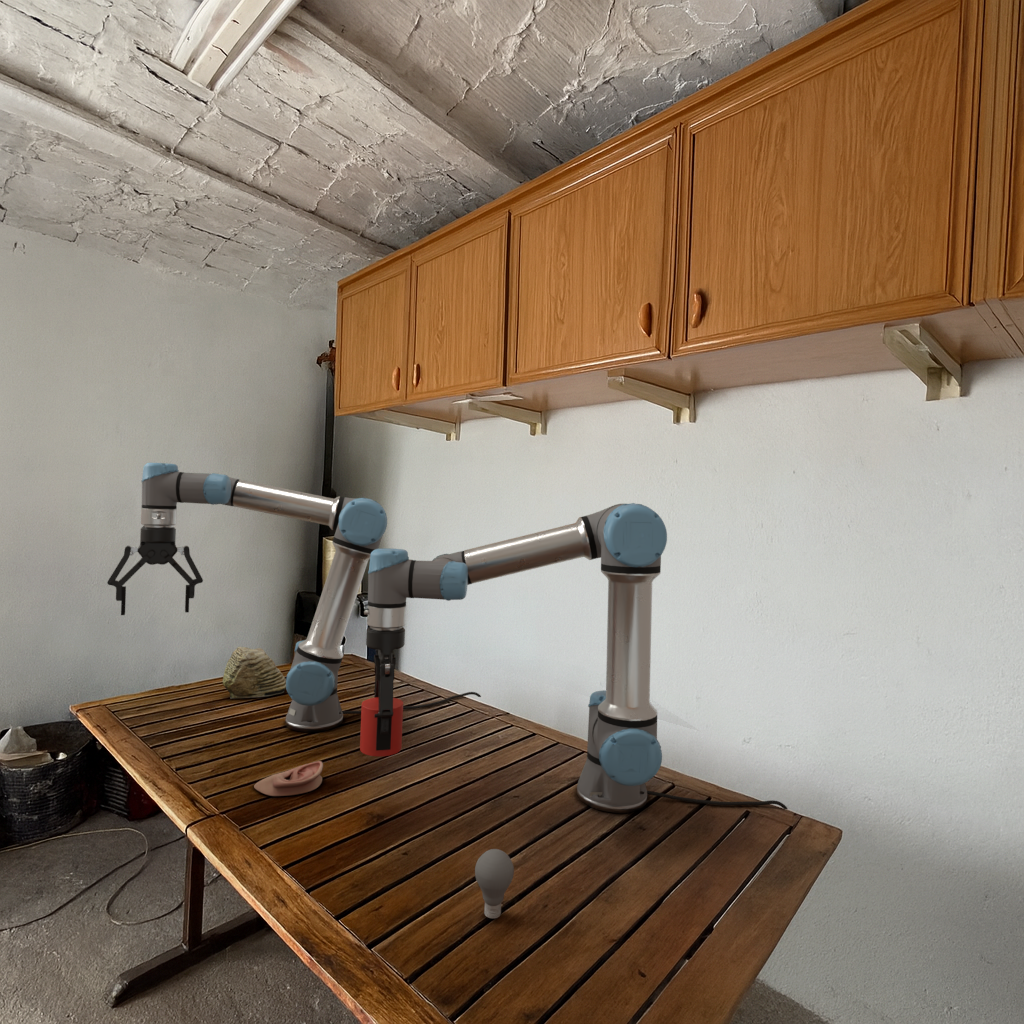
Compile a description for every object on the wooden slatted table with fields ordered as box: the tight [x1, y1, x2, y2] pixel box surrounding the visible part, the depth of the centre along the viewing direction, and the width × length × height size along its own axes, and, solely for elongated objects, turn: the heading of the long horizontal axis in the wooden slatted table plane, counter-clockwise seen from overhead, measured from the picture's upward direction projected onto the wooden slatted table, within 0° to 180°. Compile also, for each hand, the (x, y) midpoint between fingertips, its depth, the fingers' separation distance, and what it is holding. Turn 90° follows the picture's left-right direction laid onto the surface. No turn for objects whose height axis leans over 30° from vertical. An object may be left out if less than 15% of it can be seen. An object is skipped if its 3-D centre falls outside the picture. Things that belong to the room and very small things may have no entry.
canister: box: [359, 697, 404, 757], centre depth 126 cm, size 8×8×9 cm
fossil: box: [222, 646, 287, 699], centre depth 198 cm, size 9×18×15 cm, turn 132°
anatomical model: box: [253, 760, 324, 797], centre depth 138 cm, size 13×4×12 cm
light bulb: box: [474, 848, 515, 919], centre depth 98 cm, size 6×6×10 cm
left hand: (155, 613), depth 155 cm, fingers open, 13 cm apart
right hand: (381, 740), depth 126 cm, fingers closed on canister, 8 cm apart
